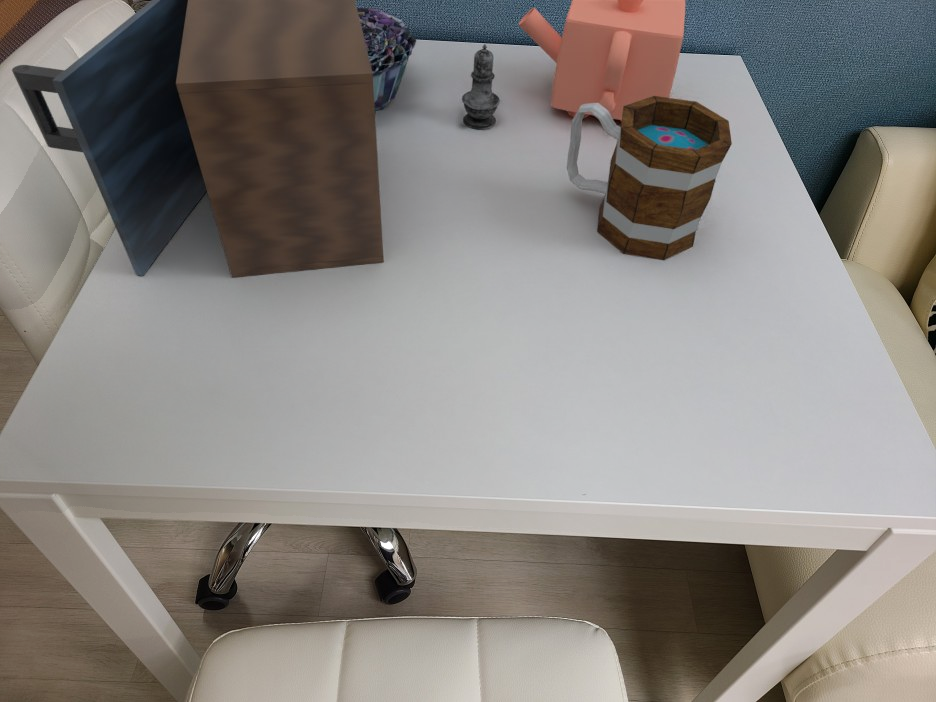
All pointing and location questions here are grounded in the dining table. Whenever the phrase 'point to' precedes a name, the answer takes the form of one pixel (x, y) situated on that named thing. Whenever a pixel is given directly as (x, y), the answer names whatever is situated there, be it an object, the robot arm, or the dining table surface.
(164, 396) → the dining table surface
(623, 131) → the mug
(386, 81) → the decorative bowl
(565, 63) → the teapot
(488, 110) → the salt shaker
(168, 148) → the cupboard door
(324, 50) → the cupboard
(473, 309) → the dining table surface
